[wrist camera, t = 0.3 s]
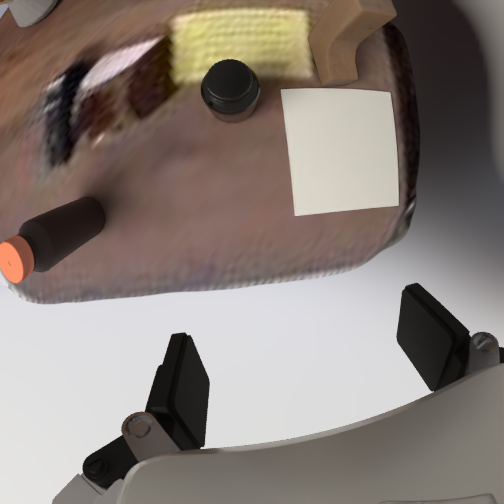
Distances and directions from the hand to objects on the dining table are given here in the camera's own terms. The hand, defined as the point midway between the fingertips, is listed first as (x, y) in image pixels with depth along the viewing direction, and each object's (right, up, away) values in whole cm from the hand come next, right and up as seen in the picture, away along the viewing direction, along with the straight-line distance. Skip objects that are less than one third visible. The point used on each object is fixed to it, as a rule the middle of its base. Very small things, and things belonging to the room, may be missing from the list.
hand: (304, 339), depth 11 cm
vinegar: (-29, +9, +28) cm, 42 cm away
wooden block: (+9, +32, +21) cm, 40 cm away
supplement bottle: (-5, +25, +24) cm, 35 cm away
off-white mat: (+12, +19, +26) cm, 35 cm away
